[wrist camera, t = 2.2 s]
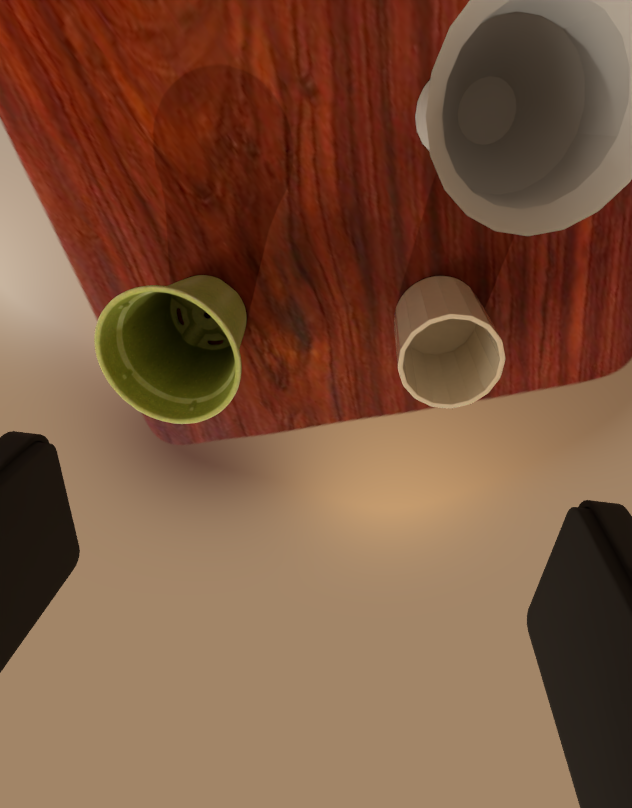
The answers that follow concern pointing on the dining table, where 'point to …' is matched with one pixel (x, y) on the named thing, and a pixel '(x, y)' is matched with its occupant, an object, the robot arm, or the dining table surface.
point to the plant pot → (173, 348)
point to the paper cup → (446, 343)
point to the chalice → (532, 111)
